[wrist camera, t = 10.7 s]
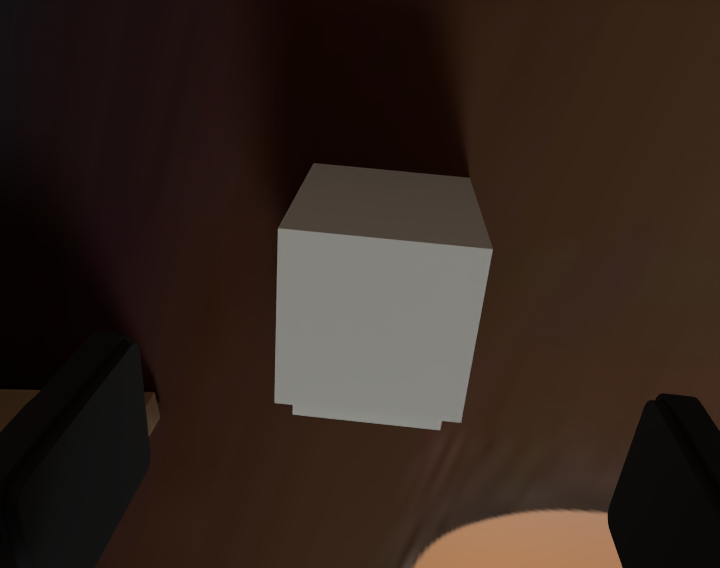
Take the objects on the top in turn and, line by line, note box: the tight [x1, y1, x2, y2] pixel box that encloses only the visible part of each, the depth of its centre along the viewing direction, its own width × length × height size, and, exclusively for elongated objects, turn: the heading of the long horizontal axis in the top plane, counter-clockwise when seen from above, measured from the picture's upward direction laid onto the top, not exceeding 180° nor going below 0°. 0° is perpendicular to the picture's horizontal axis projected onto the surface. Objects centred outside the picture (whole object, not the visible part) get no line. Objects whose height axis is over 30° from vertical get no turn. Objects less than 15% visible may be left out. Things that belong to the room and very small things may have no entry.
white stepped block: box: [275, 163, 493, 430], centre depth 19 cm, size 8×5×6 cm, turn 176°
